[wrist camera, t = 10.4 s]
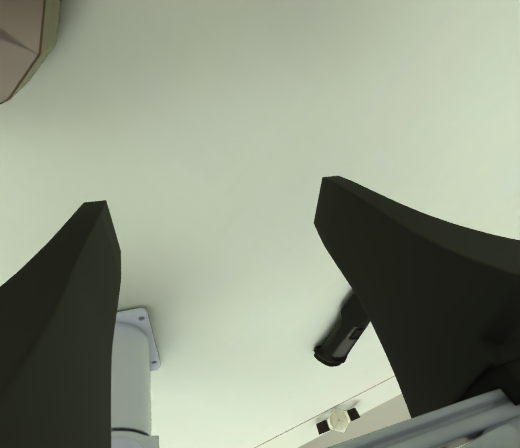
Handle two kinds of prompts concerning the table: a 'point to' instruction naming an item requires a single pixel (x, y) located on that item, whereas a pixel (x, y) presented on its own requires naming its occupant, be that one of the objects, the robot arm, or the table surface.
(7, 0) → the clock ring
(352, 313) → the electric trimmer
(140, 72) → the table surface
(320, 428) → the watch
